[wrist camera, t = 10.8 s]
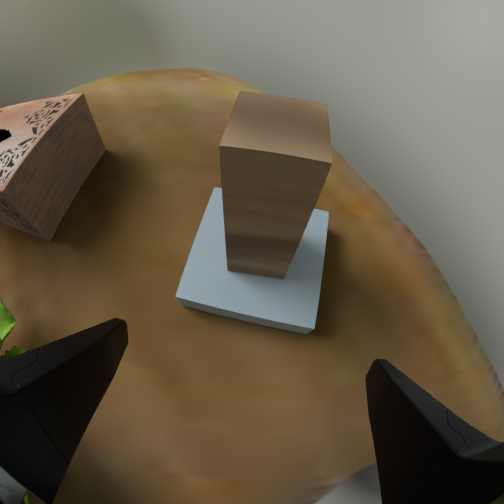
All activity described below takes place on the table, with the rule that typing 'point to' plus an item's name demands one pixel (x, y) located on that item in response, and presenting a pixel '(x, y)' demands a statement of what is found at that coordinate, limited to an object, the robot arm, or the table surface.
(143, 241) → the table surface
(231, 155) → the walnut block
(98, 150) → the tissue box cover
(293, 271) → the slate base
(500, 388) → the table surface
